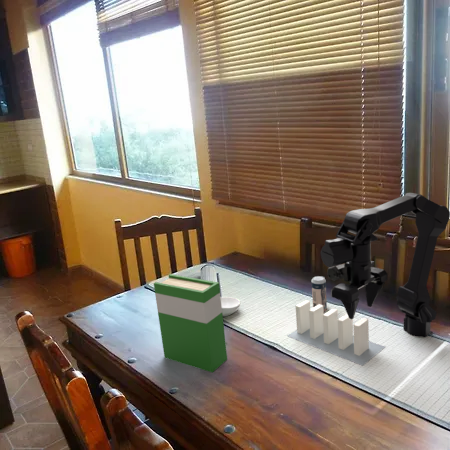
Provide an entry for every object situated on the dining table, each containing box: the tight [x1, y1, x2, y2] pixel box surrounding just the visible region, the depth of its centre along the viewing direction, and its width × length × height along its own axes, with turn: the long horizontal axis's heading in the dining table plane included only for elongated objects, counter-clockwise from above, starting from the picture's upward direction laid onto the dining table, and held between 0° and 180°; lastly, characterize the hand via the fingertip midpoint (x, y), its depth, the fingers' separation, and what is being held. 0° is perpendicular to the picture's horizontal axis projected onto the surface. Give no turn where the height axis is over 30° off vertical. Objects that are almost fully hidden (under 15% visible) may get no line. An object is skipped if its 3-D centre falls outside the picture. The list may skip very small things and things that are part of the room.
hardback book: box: [153, 273, 228, 374], centre depth 133 cm, size 18×7×24 cm, turn 56°
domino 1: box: [295, 299, 311, 334], centre depth 143 cm, size 2×5×9 cm, turn 133°
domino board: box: [286, 329, 386, 367], centre depth 137 cm, size 26×12×1 cm, turn 43°
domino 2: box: [309, 304, 325, 339], centre depth 140 cm, size 2×5×9 cm, turn 133°
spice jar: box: [310, 275, 328, 312], centre depth 156 cm, size 5×5×12 cm
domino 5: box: [353, 317, 370, 356], centre depth 129 cm, size 2×5×9 cm, turn 134°
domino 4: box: [338, 313, 354, 350], centre depth 132 cm, size 2×5×9 cm, turn 133°
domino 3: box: [323, 308, 339, 344], centre depth 136 cm, size 2×5×9 cm, turn 133°
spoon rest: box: [221, 296, 241, 317], centre depth 160 cm, size 24×12×7 cm, turn 135°
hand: (360, 312), depth 127 cm, fingers open, 9 cm apart
